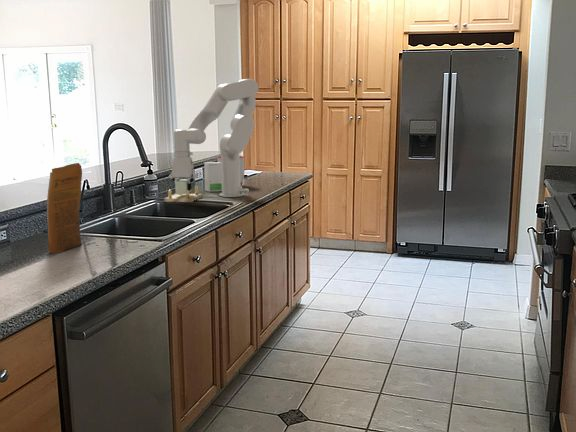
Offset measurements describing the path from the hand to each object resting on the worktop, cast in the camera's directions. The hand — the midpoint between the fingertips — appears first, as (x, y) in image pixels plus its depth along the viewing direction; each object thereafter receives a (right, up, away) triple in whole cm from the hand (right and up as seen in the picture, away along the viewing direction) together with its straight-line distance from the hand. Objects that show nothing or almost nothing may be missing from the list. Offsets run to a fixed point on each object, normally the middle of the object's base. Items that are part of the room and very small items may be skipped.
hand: (183, 190), depth 310 cm
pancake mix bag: (-22, -24, -101) cm, 106 cm away
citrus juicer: (+20, +5, +47) cm, 52 cm away
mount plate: (0, -4, +1) cm, 4 cm away
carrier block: (0, -1, 0) cm, 1 cm away
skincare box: (+12, +1, +29) cm, 31 cm away
